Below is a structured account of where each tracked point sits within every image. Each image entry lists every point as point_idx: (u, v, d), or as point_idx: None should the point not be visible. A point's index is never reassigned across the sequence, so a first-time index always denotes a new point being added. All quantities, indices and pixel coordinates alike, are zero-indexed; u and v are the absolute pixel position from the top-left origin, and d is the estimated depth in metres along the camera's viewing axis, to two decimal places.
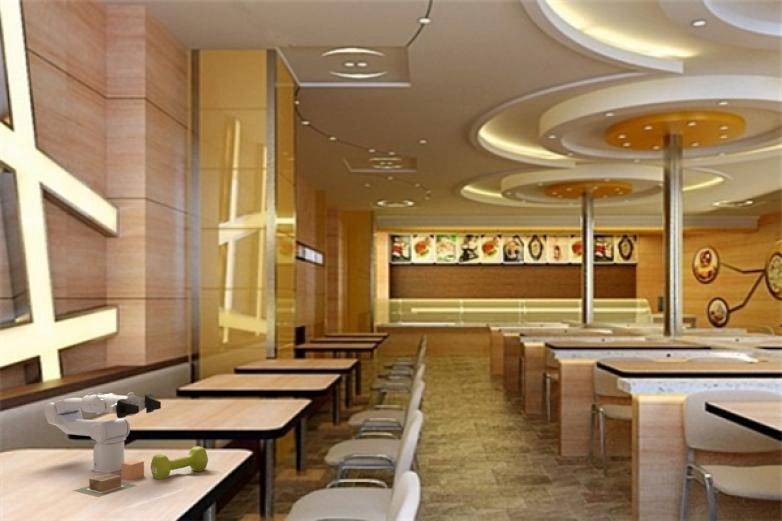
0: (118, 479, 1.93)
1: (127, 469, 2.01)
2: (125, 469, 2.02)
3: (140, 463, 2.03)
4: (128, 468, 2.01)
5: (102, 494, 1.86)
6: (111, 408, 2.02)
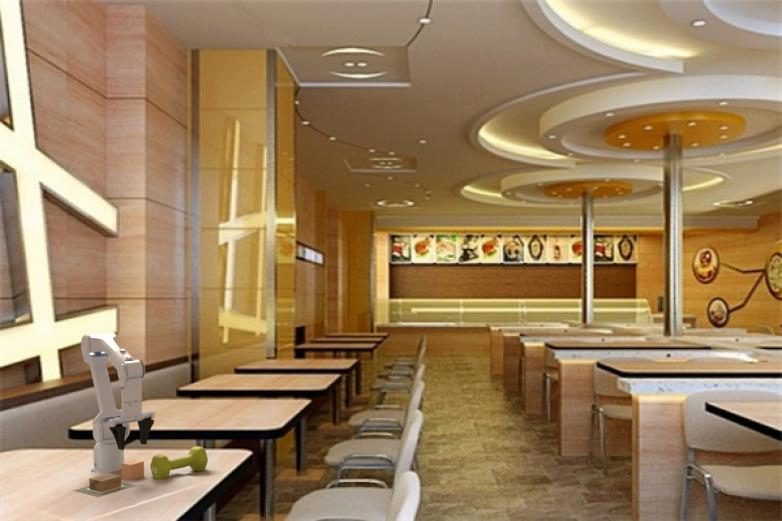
0: (118, 479, 1.93)
1: (127, 469, 2.01)
2: (125, 469, 2.02)
3: (140, 463, 2.03)
4: (128, 468, 2.01)
5: (102, 494, 1.86)
6: (110, 424, 1.98)
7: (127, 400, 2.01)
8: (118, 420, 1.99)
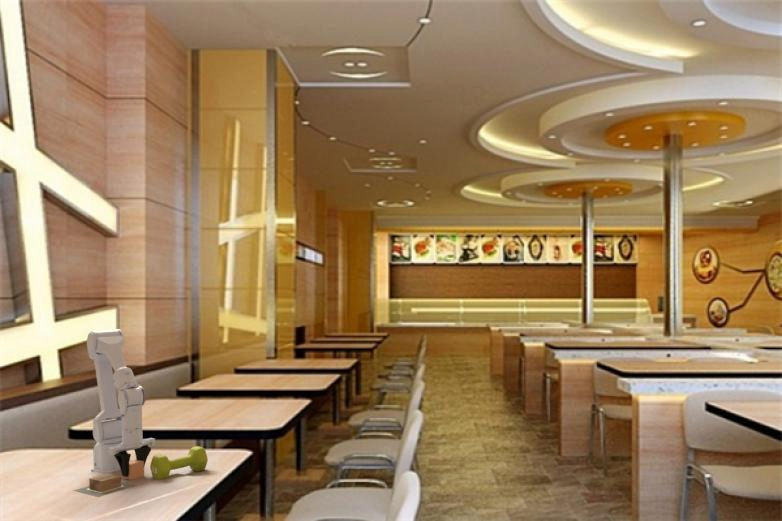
0: (118, 479, 1.93)
1: None
2: None
3: (140, 463, 2.03)
4: None
5: (102, 494, 1.86)
6: (111, 452, 1.97)
7: (127, 428, 2.01)
8: (118, 448, 1.98)
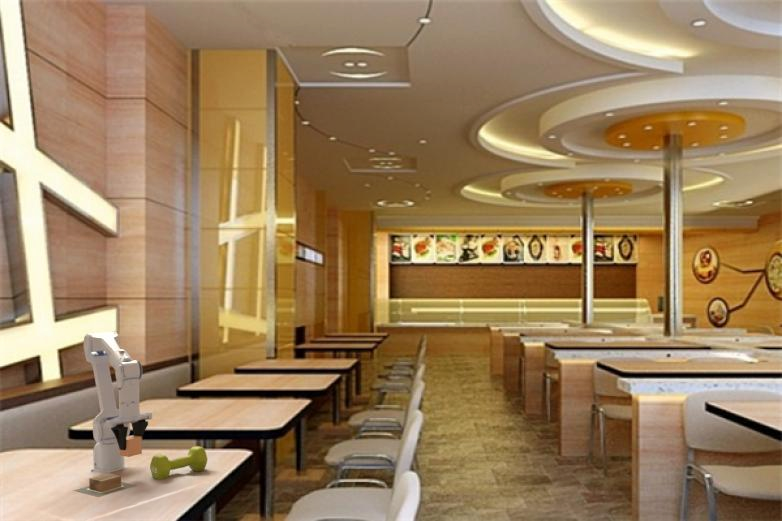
0: (118, 479, 1.93)
1: None
2: None
3: (138, 438, 2.02)
4: (126, 443, 2.00)
5: (102, 494, 1.86)
6: (108, 425, 1.97)
7: (124, 401, 2.00)
8: (116, 421, 1.98)
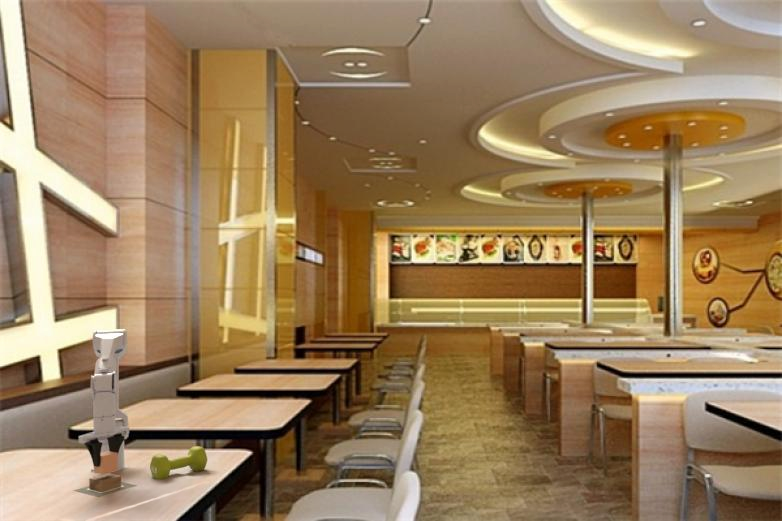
0: (118, 479, 1.93)
1: (100, 461, 1.90)
2: None
3: (113, 455, 1.92)
4: (101, 460, 1.90)
5: (102, 494, 1.86)
6: (81, 440, 1.87)
7: (95, 415, 1.91)
8: (89, 436, 1.88)
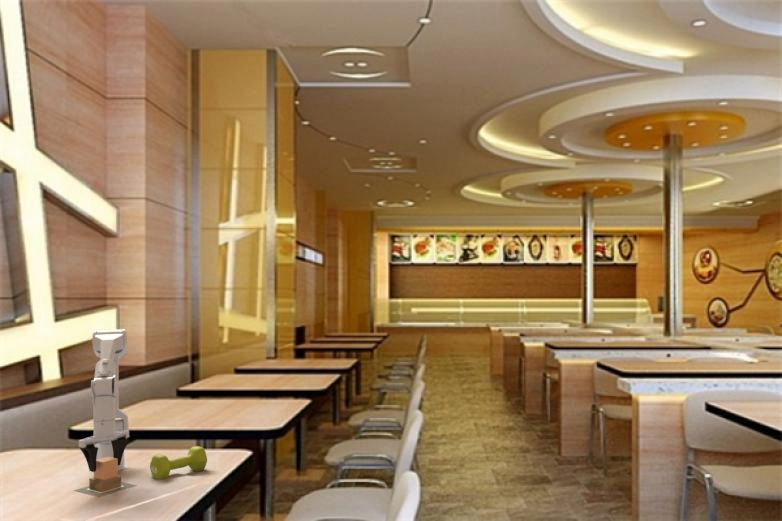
0: (118, 479, 1.93)
1: (100, 467, 1.90)
2: (97, 467, 1.91)
3: (113, 460, 1.92)
4: (101, 466, 1.90)
5: (102, 494, 1.86)
6: (81, 445, 1.87)
7: (95, 419, 1.91)
8: (89, 440, 1.88)
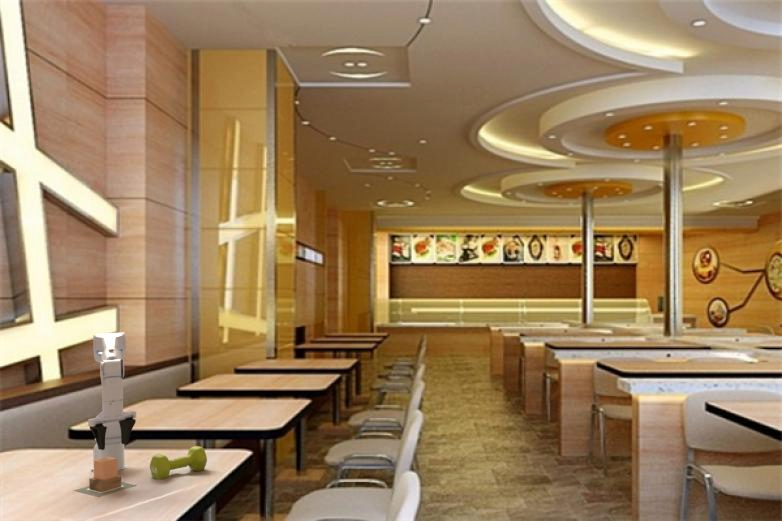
0: (118, 479, 1.93)
1: (100, 467, 1.90)
2: (97, 467, 1.91)
3: (113, 460, 1.92)
4: (101, 466, 1.90)
5: (102, 494, 1.86)
6: (90, 424, 1.95)
7: (105, 399, 1.98)
8: (98, 419, 1.96)
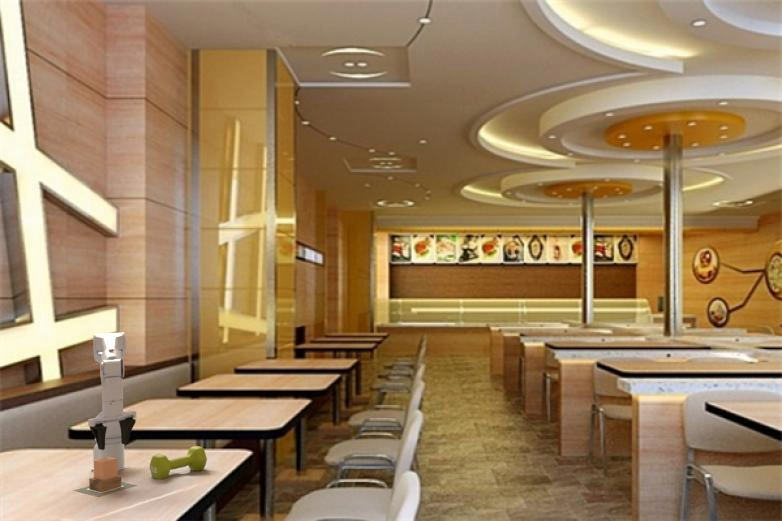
0: (118, 479, 1.93)
1: (100, 467, 1.90)
2: (97, 467, 1.91)
3: (113, 460, 1.92)
4: (101, 466, 1.90)
5: (102, 494, 1.86)
6: (90, 424, 1.95)
7: (105, 399, 1.98)
8: (98, 419, 1.96)
